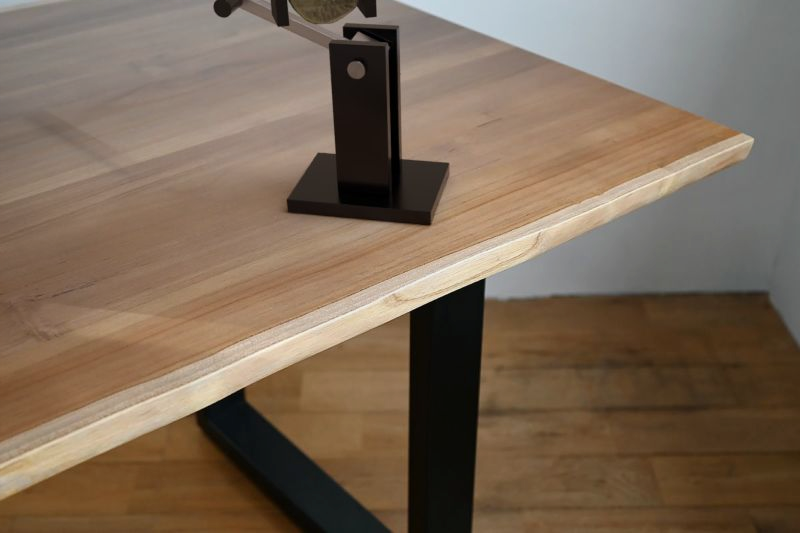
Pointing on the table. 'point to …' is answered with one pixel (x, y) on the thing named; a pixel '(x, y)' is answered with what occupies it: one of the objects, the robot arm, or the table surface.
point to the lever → (257, 5)
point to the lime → (323, 9)
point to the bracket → (368, 140)
